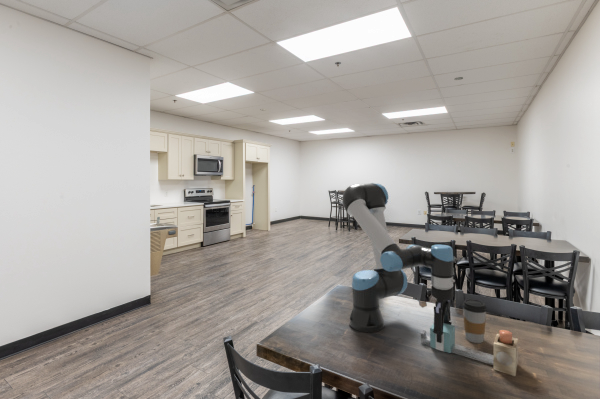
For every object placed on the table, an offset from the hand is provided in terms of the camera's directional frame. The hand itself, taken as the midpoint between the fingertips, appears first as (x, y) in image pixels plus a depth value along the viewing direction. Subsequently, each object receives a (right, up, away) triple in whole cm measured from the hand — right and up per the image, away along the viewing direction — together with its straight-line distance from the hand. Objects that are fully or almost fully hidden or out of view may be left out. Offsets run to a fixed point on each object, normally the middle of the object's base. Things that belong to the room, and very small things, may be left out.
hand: (442, 345), depth 115 cm
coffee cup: (+15, 0, +5) cm, 16 cm away
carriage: (0, -1, 0) cm, 1 cm away
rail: (+4, -1, -3) cm, 6 cm away
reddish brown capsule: (+15, +8, -13) cm, 21 cm away
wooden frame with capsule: (+15, -1, -13) cm, 20 cm away
